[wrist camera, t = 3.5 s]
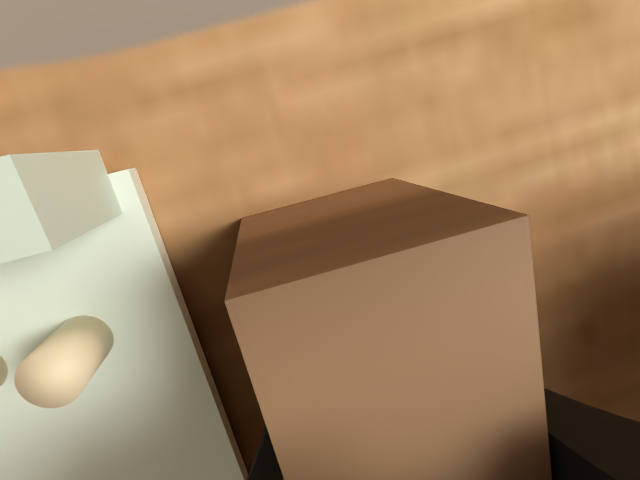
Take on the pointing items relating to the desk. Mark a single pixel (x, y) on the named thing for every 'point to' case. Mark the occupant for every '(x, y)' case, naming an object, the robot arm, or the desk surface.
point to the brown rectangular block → (393, 336)
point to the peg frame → (98, 335)
